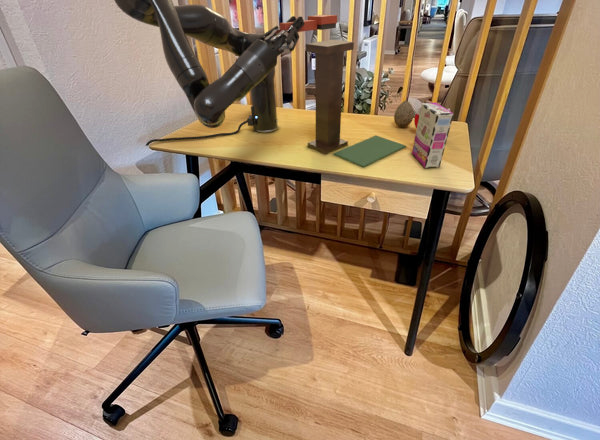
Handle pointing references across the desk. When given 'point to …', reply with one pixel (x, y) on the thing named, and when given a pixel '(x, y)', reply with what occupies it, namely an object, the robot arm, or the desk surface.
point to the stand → (328, 93)
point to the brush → (314, 23)
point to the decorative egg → (404, 114)
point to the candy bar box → (431, 134)
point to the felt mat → (369, 151)
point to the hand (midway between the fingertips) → (298, 19)
